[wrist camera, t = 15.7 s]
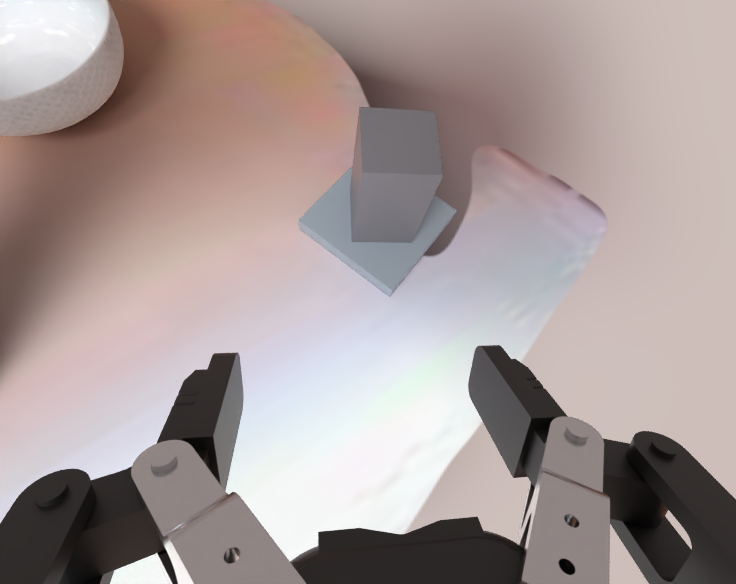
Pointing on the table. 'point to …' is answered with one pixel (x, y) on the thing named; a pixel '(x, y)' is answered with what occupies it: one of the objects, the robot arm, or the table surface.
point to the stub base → (371, 259)
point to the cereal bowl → (56, 63)
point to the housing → (393, 173)
